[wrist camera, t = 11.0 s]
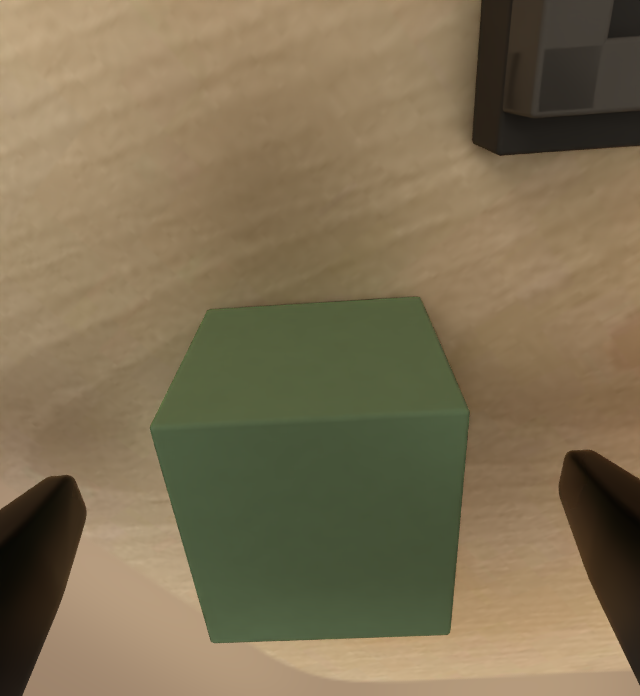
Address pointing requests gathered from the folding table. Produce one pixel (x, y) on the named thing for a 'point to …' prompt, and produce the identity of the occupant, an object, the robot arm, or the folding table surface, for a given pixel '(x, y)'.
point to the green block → (317, 470)
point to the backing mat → (557, 75)
